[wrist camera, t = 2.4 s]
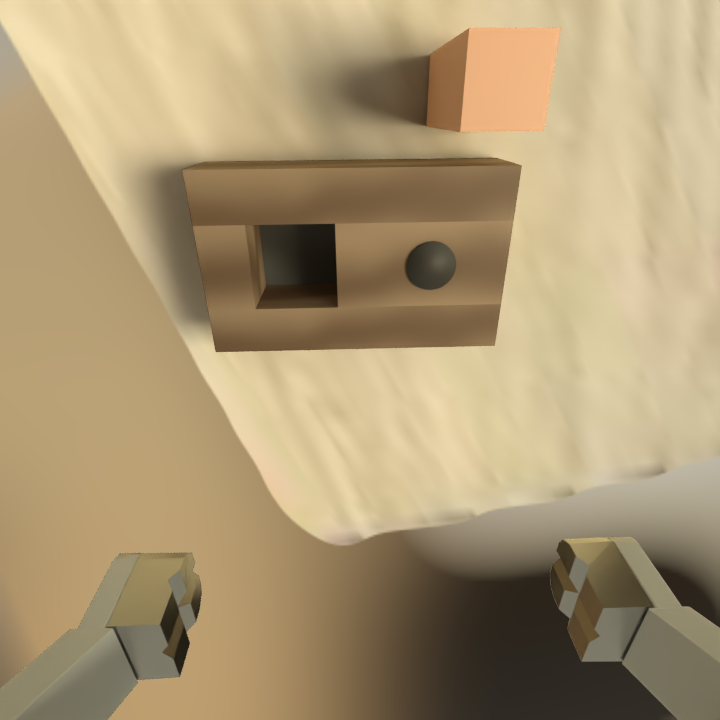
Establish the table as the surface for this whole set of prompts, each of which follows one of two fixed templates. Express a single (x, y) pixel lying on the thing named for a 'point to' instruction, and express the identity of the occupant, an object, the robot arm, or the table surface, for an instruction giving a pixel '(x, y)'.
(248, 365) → the table surface
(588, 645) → the robot arm
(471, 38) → the square peg
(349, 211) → the socket block
